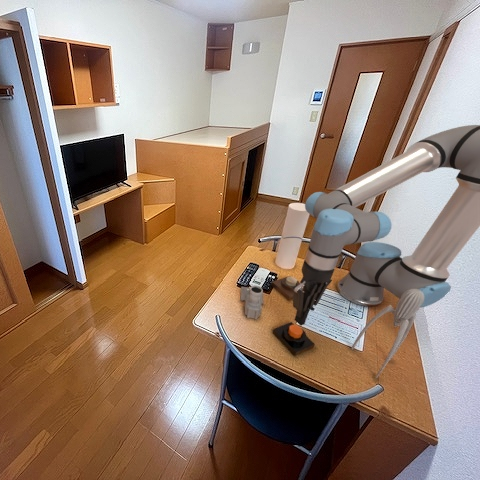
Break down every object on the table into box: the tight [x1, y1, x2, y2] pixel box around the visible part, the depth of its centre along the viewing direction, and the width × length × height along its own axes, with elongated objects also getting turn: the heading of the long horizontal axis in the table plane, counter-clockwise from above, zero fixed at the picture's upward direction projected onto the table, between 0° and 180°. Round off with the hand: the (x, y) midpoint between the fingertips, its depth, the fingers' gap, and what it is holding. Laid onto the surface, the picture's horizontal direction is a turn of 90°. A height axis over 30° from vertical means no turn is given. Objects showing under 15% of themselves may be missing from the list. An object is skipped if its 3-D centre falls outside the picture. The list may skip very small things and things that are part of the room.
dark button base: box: [272, 321, 316, 357], centre depth 88 cm, size 8×10×4 cm
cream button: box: [286, 275, 298, 286], centre depth 108 cm, size 4×4×2 cm
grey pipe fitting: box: [239, 284, 264, 320], centre depth 100 cm, size 9×12×15 cm
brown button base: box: [270, 275, 301, 302], centre depth 109 cm, size 10×10×4 cm
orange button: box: [288, 324, 304, 338], centre depth 86 cm, size 4×4×2 cm
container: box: [274, 202, 311, 270], centre depth 118 cm, size 9×9×30 cm
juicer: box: [350, 289, 425, 380], centre depth 73 cm, size 10×9×30 cm
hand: (299, 321), depth 84 cm, fingers closed
